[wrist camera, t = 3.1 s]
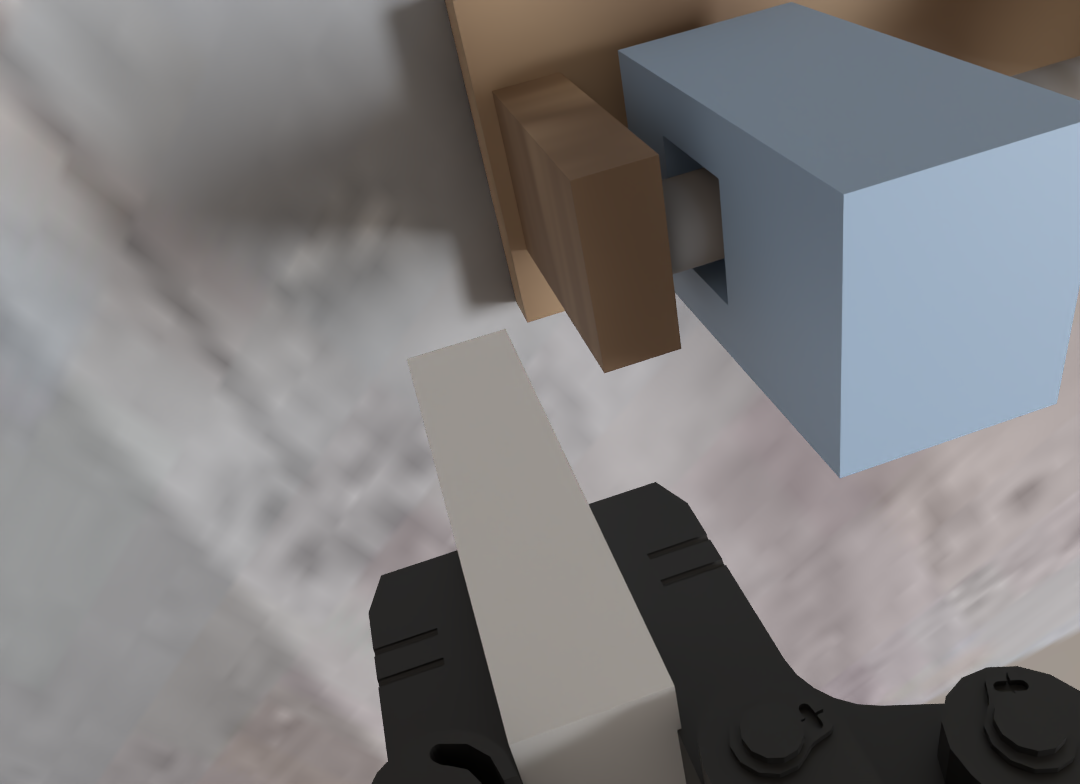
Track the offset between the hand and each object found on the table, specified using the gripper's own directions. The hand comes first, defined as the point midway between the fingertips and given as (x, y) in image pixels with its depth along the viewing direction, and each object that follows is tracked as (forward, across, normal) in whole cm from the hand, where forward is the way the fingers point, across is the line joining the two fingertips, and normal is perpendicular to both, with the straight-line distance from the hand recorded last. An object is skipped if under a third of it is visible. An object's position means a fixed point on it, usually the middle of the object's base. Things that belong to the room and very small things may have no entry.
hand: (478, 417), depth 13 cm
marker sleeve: (+8, +7, 0) cm, 10 cm away
